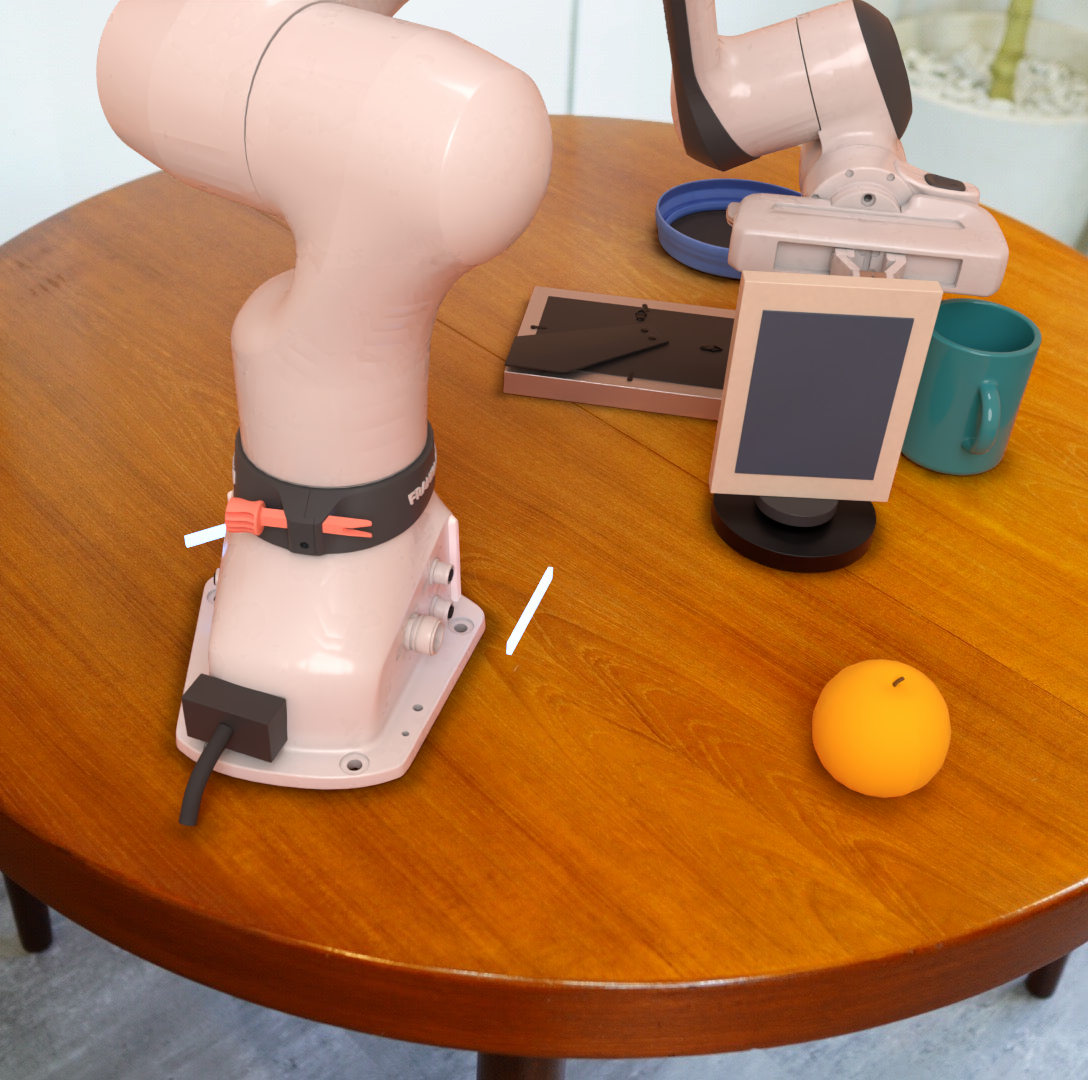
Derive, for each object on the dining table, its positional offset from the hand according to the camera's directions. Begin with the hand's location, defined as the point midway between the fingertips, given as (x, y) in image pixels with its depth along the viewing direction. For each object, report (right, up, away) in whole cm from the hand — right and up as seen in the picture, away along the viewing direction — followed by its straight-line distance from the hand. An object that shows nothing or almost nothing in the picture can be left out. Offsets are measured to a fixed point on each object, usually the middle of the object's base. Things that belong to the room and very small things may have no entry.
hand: (871, 294), depth 93 cm
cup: (+10, -11, +14) cm, 20 cm away
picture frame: (-15, -2, +23) cm, 27 cm away
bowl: (-3, +13, +43) cm, 45 cm away
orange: (-4, -31, -14) cm, 34 cm away
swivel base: (-5, -16, +5) cm, 18 cm away
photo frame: (-5, -15, +4) cm, 16 cm away
